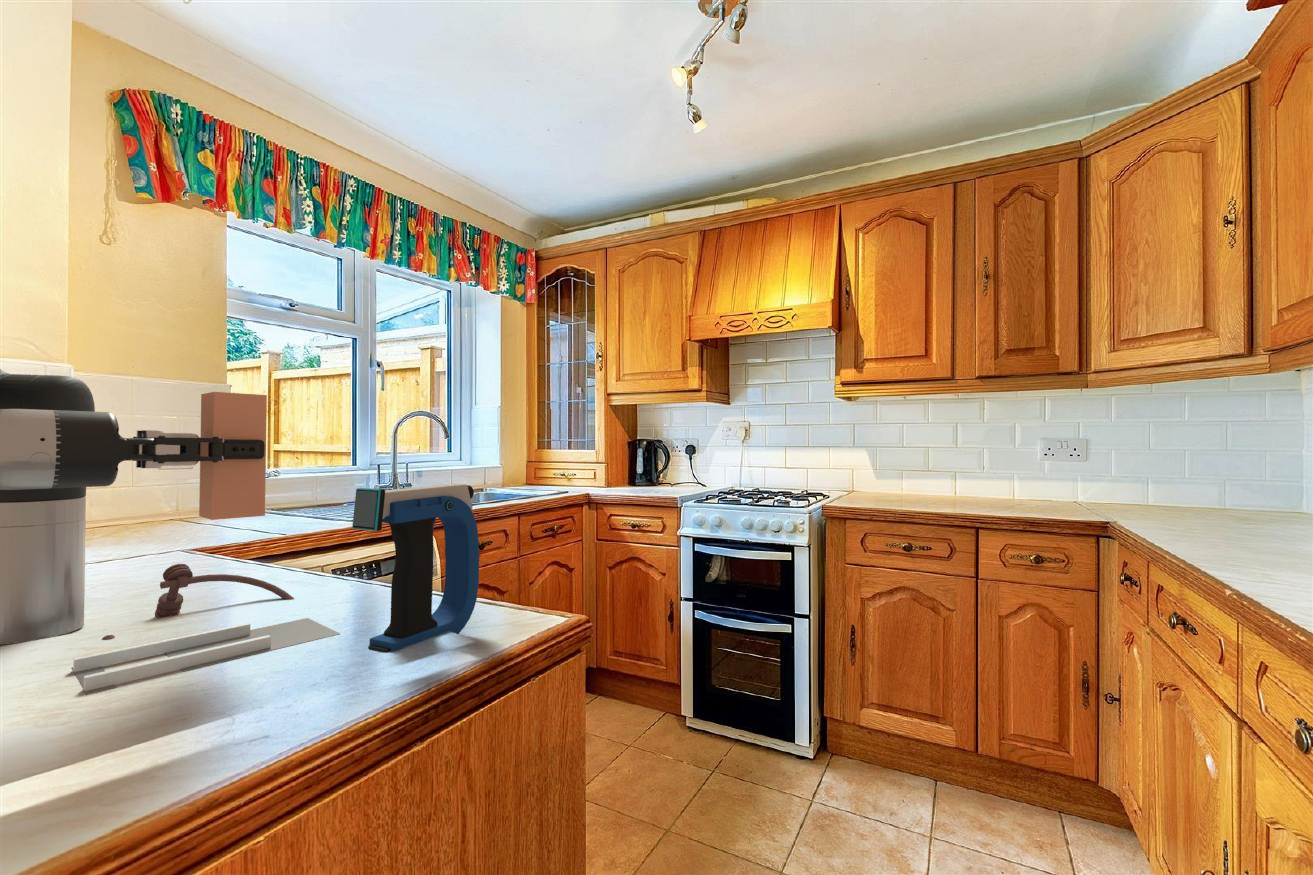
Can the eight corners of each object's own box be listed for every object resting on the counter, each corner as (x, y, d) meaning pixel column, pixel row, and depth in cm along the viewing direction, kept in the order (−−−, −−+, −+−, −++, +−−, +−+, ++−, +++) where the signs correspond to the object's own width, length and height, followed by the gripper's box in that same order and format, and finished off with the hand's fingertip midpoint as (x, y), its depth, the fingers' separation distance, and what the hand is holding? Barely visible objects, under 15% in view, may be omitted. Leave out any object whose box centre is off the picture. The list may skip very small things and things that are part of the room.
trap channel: (71, 682, 59) (71, 655, 59) (307, 629, 76) (307, 608, 76) (86, 710, 53) (87, 681, 53) (340, 646, 70) (340, 623, 70)
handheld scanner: (345, 665, 64) (349, 487, 64) (454, 624, 78) (457, 480, 78) (374, 673, 62) (378, 490, 62) (480, 630, 76) (483, 481, 76)
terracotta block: (199, 516, 66) (201, 394, 66) (250, 512, 70) (252, 397, 70) (211, 519, 63) (214, 391, 63) (264, 515, 67) (266, 395, 67)
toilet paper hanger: (111, 649, 66) (77, 574, 72) (97, 703, 68) (65, 626, 74) (307, 604, 84) (266, 548, 91) (291, 648, 86) (252, 590, 93)
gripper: (56, 407, 51) (277, 415, 64) (39, 412, 60) (236, 419, 73) (54, 492, 50) (276, 483, 64) (38, 485, 59) (235, 478, 73)
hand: (254, 449), depth 68 cm, fingers closed on terracotta block, 5 cm apart
